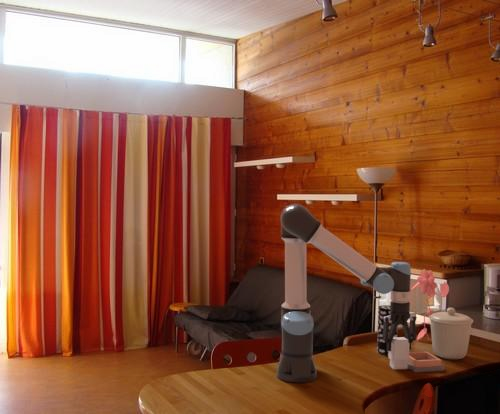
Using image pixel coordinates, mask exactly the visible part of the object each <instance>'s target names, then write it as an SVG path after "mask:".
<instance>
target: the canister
mask: <svg viewBox="0 0 500 414" xmlns="http://www.w3.org/2000/svg"><path fill="white" fill-rule="evenodd" d="M428 319H429V321H430V334H431V343H432V344H431V346H432V350H433V354H435V356H436V357H438V358H441V359H446V360H462V359H464V358H465V357H466V355H467V353H468V347H469V343H470V336H471V331H472V324H473V323H474V319H472V318H471V317H470V316H468V315H466V314H464V313H463V314H462V313H459V312H456V309H455V308H454V307H447V309H446V311H438V312H433V314H432V315H430V316H429V315H428Z"/></svg>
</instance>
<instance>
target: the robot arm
mask: <svg viewBox="0 0 500 414" xmlns="http://www.w3.org/2000/svg"><path fill="white" fill-rule="evenodd" d="M280 238H281V240H282V241H284V295H285V296H284V300H285V301H284V302H283V303H282V304H281V306H280V307H281V309H280V310H281V313H280V315H281V319H280V325H281V356H280V359H279V362H278V365H277V367H276V377H277V378H278V379H279V380H282V381H285V382H289V383H295V384H297V383H300V384H301V383H310V382H312V381H315V380H316V379H317V376H318V374H317V373H318V372H317V368H316V365H315V361H314V357H313V351H314V350H313V347H314V346H313V343H314V342H313V341H314V327H315V324H314V318H313V316H312V315H311V305H310V303H308V301H307V299H308V298H307V293H308V292H307V290H308V289H307V245H308V244H311V245H313V246H314V247H315V248H317V249H318V250H320V251H321V252H323V253H324V254H325V255H327V256H328V257H329V258H330V259H333V260H334V261H335V262H336V263H338V264H339V265H340V266H342V267H343V268H345V270H348V271H349V272H350V273H352V274H353V275H354V276H356V277H357V278H358V279H359V280H360V284H361V285H362V286H363V287H366V286H367V287H371V288H372V289H373V290H374V291H376V292H377V293H378V294H382V295H385V294H389V293H390V303H389V306H390V314H389V316H386V317H385V316H383V321H384V325H383V336H382V340H383V341H385V342H387V350H388V351H389V355H388V359H389V360H390V359H391V360H393V349H394V344H393V343H392V340H393V337H394V334H395V331H396V328H397V327H398V328H399V326H400V325H401V326H402V329H403V334H404V337H405V338H406V339H408V359H409V353H410V351H411V350H412V343H414V341H417V331H416V330H417V329H416V328H417V327H416V322H417V316H416V315H414V314H411V313H410V310H411V303H410V301H411V276H412V274H411V273H412V271H411V270H412V269H411V265H410V263H409V262H405V261H393V262H391V264H390V266H389V267H386V266H385V267H383V266H382V267H380V266H377V265H376V264H374V263H373V262H372V261H370V260H369V259H368V258H366V257H365V256H363V255H362V254H361V253H359V252H358V251H356V250H355V249H354V248H352V246H349V244H347V243H345V242H344V241H343V240H341V239H340V238H339V237H337V236H336V235H335V234H333V233H332V232H331V231H329V230H328V229H326V228H325V227H323V222H321V221H320V220H319V219H317V218H316V217H315V216H314V215H313V214H312V213H311V211H309V210H308V209H307V207H306V206H304V205H302V204H300V203H291V204H289V205H287V206H285V207H284V208H283V210H282V211H281V213H280ZM390 318H391V320H392V322H391V327H390V330H389V321H390ZM408 321H409V323H408ZM388 332H389V334H388Z"/></svg>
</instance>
